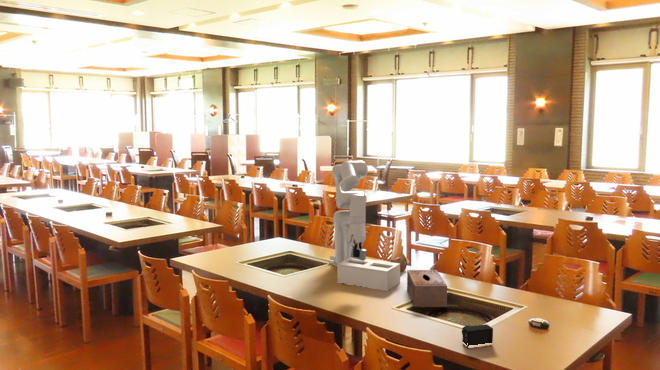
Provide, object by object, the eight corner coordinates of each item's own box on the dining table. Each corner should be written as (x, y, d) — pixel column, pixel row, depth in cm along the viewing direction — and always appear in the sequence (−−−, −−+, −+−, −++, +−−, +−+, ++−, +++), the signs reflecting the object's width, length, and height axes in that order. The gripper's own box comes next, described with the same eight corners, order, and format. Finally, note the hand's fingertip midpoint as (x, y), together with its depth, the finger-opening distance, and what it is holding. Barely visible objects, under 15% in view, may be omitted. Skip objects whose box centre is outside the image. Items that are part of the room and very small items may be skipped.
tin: (393, 276, 298) (393, 261, 297) (388, 275, 300) (388, 260, 299) (407, 270, 310) (407, 255, 309) (402, 269, 312) (402, 254, 311)
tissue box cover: (446, 307, 251) (447, 285, 250) (414, 307, 251) (415, 286, 250) (436, 289, 276) (436, 269, 275) (407, 289, 277) (407, 270, 275)
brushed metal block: (363, 260, 269) (350, 257, 272) (365, 259, 271) (353, 255, 274) (364, 251, 268) (351, 247, 271) (366, 249, 270) (354, 246, 273)
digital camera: (485, 340, 214) (485, 322, 213) (492, 345, 209) (493, 328, 208) (460, 343, 211) (461, 325, 211) (467, 349, 206) (468, 330, 205)
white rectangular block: (337, 282, 288) (337, 263, 286) (352, 274, 301) (351, 256, 300) (387, 291, 274) (387, 271, 272) (400, 282, 287) (400, 263, 286)
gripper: (358, 215, 278) (358, 251, 280) (342, 221, 264) (342, 259, 266) (372, 217, 274) (372, 253, 276) (356, 222, 260) (356, 261, 263)
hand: (357, 256), depth 271 cm, fingers closed on brushed metal block, 2 cm apart
